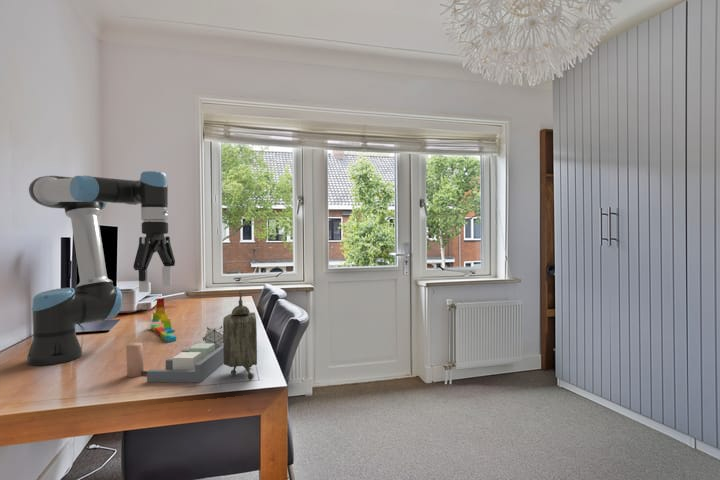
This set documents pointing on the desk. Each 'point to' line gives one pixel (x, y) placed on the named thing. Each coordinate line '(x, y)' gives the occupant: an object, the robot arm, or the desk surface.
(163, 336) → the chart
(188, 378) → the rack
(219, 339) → the grey spiky lattice polyhedron
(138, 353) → the corded block
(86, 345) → the desk surface
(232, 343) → the tabletop clock
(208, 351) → the sage block
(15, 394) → the desk surface
